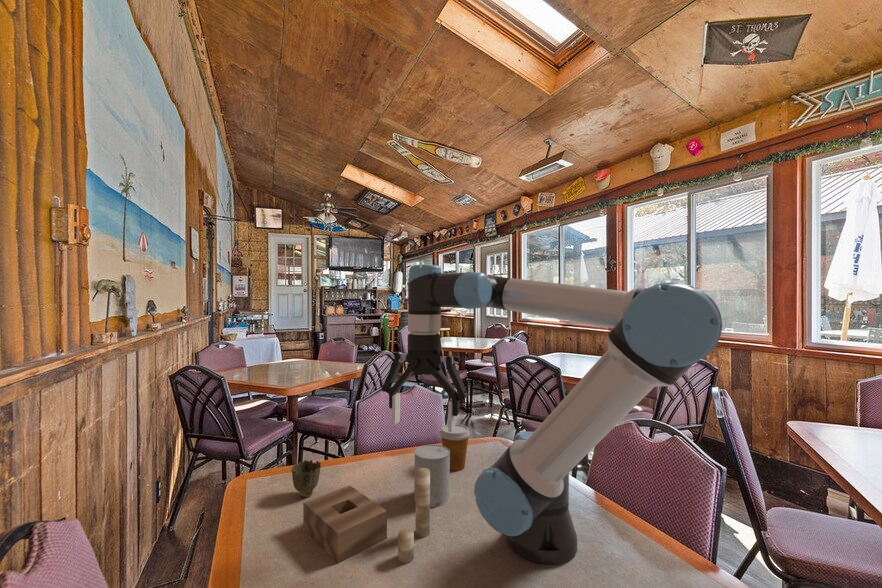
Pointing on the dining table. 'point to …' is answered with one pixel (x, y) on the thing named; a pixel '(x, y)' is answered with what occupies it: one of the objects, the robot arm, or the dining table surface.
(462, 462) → the disposable coffee cup
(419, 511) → the long pin
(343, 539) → the hole block
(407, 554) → the short pin
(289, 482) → the dining table surface
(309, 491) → the olive hollow patterned container
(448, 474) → the speckled white tub
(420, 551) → the dining table surface
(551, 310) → the robot arm
